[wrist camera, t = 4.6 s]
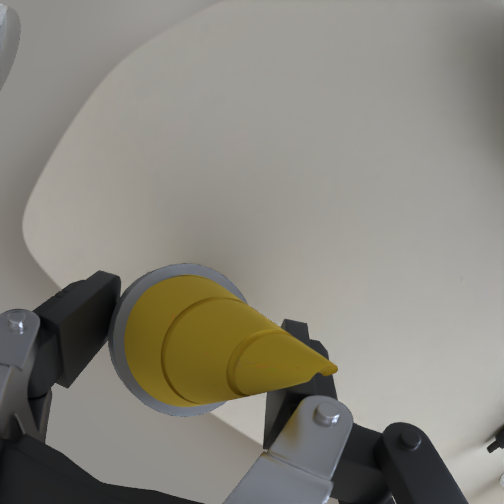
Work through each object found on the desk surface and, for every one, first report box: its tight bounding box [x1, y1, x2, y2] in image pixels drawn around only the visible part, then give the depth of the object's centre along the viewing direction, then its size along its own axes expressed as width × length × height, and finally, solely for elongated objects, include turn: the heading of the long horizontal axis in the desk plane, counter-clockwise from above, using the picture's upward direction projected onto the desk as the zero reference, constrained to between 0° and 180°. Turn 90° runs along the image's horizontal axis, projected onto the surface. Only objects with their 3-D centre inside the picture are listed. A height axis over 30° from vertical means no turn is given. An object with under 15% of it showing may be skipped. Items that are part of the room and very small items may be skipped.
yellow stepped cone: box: [108, 263, 338, 417], centre depth 10 cm, size 5×5×10 cm
